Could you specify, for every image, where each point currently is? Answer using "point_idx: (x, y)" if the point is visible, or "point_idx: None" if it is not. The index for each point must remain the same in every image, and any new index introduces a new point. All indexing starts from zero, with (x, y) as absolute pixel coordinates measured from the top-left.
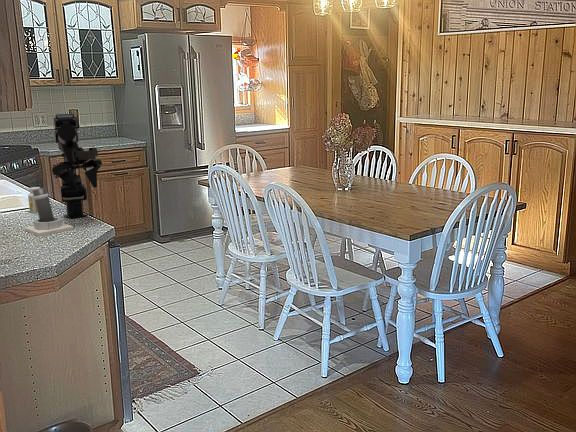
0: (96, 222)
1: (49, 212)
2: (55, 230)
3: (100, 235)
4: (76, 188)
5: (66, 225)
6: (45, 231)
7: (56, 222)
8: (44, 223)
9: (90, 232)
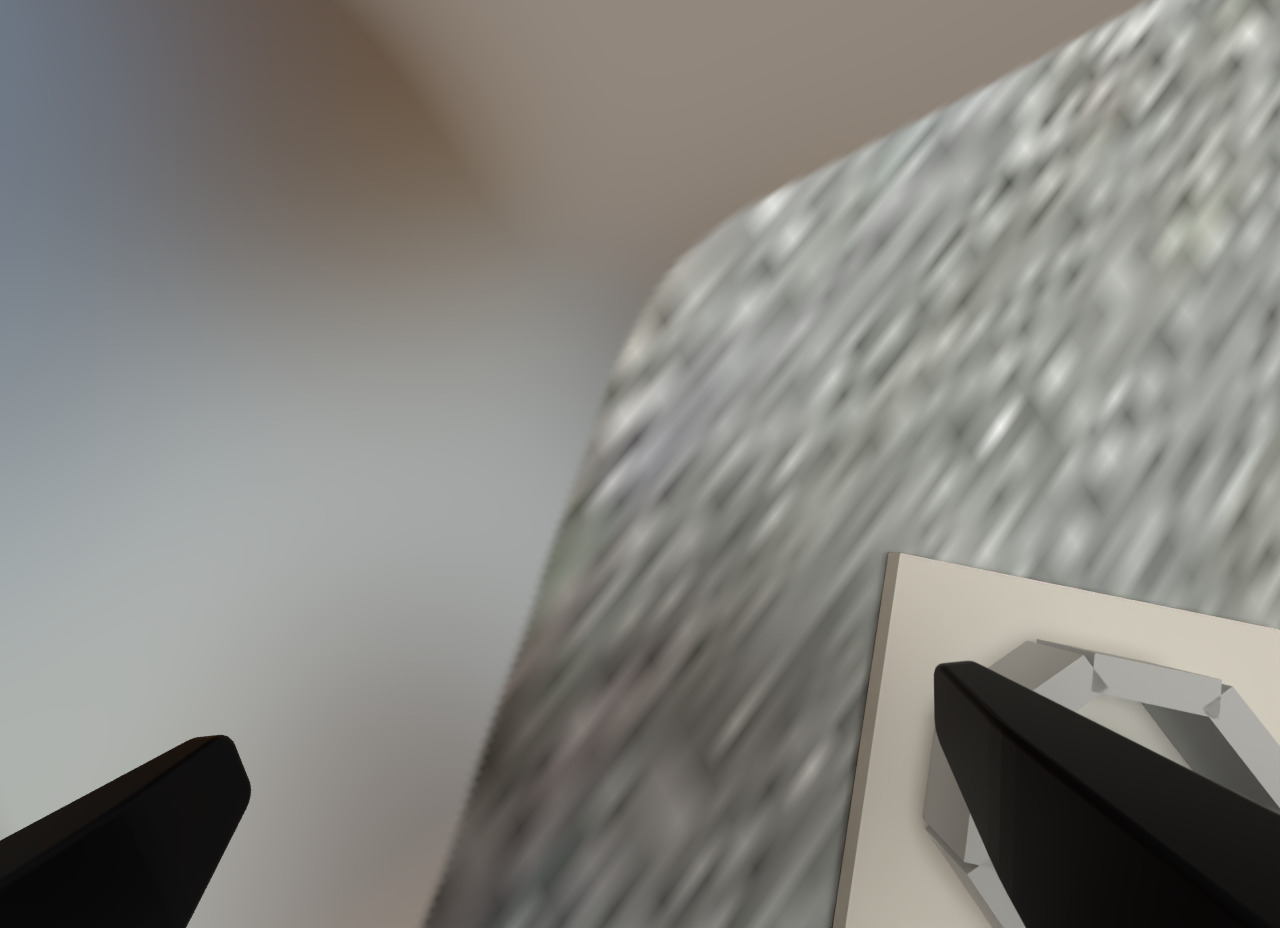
0: (566, 588)
1: None
2: (1104, 594)
3: (896, 135)
4: (1000, 677)
5: (914, 664)
6: (1214, 636)
7: (1104, 655)
8: (1254, 723)
9: (875, 299)
